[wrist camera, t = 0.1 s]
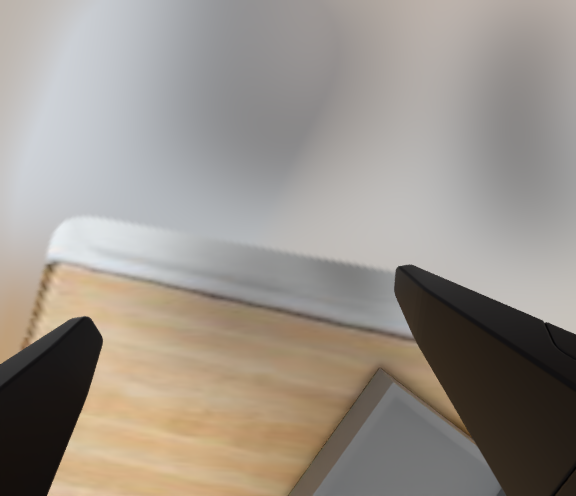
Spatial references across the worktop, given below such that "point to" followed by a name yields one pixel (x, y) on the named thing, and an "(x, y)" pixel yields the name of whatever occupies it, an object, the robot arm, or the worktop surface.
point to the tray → (397, 451)
